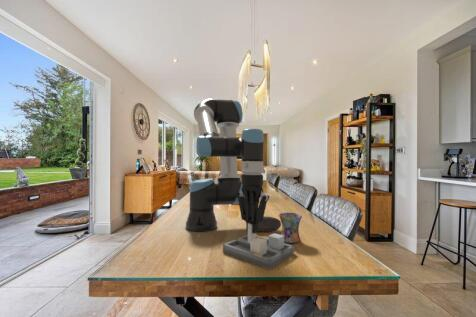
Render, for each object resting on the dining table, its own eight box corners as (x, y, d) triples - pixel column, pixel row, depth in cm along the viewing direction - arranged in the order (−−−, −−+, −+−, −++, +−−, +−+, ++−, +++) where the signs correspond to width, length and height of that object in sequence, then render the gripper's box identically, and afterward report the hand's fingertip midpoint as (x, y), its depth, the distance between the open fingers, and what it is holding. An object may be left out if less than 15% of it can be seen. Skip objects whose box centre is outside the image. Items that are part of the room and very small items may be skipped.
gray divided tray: (222, 251, 84) (222, 244, 84) (249, 240, 97) (249, 233, 97) (269, 269, 72) (269, 260, 71) (293, 253, 84) (294, 245, 84)
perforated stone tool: (279, 228, 113) (279, 214, 113) (282, 232, 108) (283, 217, 108) (248, 229, 111) (249, 215, 111) (251, 233, 106) (251, 218, 106)
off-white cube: (250, 253, 79) (250, 240, 79) (257, 250, 82) (257, 237, 82) (259, 256, 76) (260, 243, 76) (266, 253, 79) (266, 240, 79)
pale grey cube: (268, 248, 84) (268, 236, 84) (274, 245, 87) (274, 233, 87) (278, 251, 81) (278, 238, 81) (283, 247, 84) (283, 235, 84)
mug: (303, 245, 92) (303, 218, 92) (279, 244, 92) (280, 217, 92) (298, 235, 104) (298, 211, 104) (277, 234, 104) (277, 210, 104)
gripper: (231, 173, 82) (230, 240, 82) (261, 175, 74) (260, 249, 74) (244, 172, 88) (243, 235, 88) (274, 174, 79) (273, 243, 79)
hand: (251, 241), depth 81 cm, fingers closed
